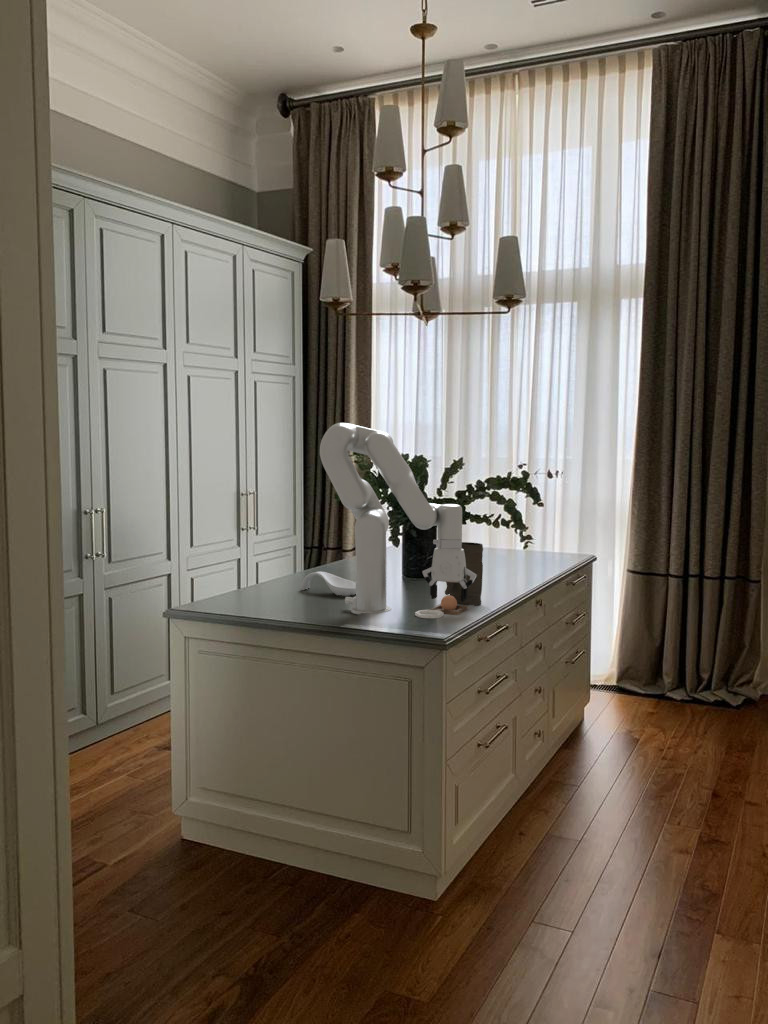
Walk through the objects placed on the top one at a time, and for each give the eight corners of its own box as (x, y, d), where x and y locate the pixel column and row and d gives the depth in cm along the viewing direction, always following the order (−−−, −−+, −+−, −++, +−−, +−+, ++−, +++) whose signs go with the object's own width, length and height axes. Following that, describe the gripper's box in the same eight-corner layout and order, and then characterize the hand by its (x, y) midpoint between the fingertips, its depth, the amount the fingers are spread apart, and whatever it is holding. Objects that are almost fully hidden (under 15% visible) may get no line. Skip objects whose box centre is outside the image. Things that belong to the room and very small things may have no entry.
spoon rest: (369, 594, 318) (369, 573, 317) (351, 599, 307) (351, 578, 307) (313, 588, 329) (312, 568, 329) (293, 593, 319) (293, 572, 319)
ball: (438, 612, 282) (438, 596, 282) (443, 609, 287) (444, 593, 286) (453, 613, 280) (454, 597, 280) (459, 610, 285) (459, 594, 284)
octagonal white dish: (412, 620, 274) (412, 613, 274) (421, 615, 282) (421, 608, 282) (437, 622, 271) (437, 616, 271) (446, 617, 279) (446, 611, 278)
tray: (430, 615, 281) (430, 609, 281) (440, 610, 289) (440, 603, 289) (457, 618, 278) (458, 611, 277) (467, 612, 286) (467, 606, 286)
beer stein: (461, 599, 307) (462, 540, 306) (488, 603, 301) (489, 542, 299) (434, 606, 296) (435, 544, 294) (462, 610, 289) (462, 547, 287)
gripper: (418, 544, 282) (418, 599, 283) (472, 547, 275) (471, 604, 276) (427, 541, 288) (427, 595, 290) (480, 544, 281) (479, 599, 283)
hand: (448, 599), depth 283 cm, fingers open, 9 cm apart
